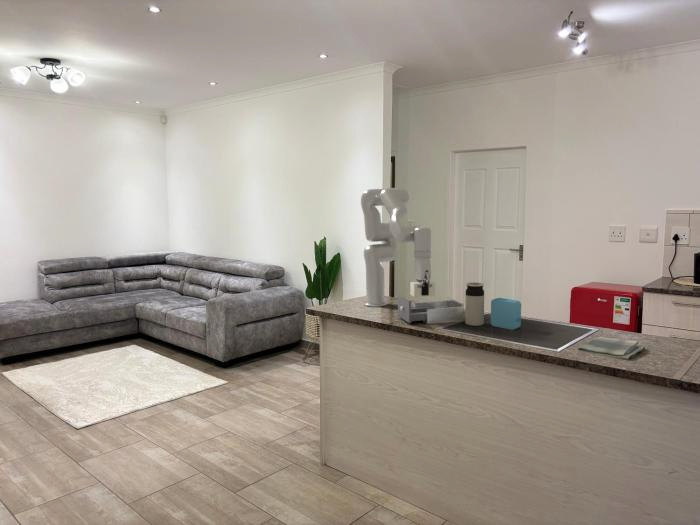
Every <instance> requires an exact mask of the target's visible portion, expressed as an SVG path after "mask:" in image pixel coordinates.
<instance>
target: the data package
mask: <svg viewBox="0 0 700 525" xmlns="http://www.w3.org/2000/svg"><path fill="white" fill-rule="evenodd" d="M521 323H522V302H521V301H520V300H515V299H510V298H509V299H508V298H503V297H496V298H493V299H492V300H491V301H490V324H491V326H492V327H496V328H501V329H506V330H512V331H514V330H517V329H519V328H521V326H522V324H521Z"/></svg>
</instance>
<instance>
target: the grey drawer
mask: <svg viewBox="0 0 700 525" xmlns="http://www.w3.org/2000/svg"><path fill="white" fill-rule="evenodd" d="M426 309H437V308H435V307H433V306H429V307H415V306H414V307H412V300H411V299H409V298H407V297H405V296H403V295H402V294H397V317H399V318H400V319H402V320H404V321H405V322H407V323H408V324H411V323H412V322H419V321H421V320H426Z"/></svg>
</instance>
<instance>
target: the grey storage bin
mask: <svg viewBox="0 0 700 525" xmlns="http://www.w3.org/2000/svg"><path fill="white" fill-rule="evenodd" d="M464 305H465V304H464V303H463V302H461V301H458V300H456V299H454V298H451V297H449V296H448V297H447V298H446V300H434V301H433V300H432V301H420V302H414V308H415V307H429V306H433V307H435V308H437V309H426V320H422V322H423V323H425V325H426V324H427V325H432V324H434V325H435V324H446V323H457V322H465V320H464V319H465V316H464V315H465V312H464V310H465V309H464V308H465V307H464Z"/></svg>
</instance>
